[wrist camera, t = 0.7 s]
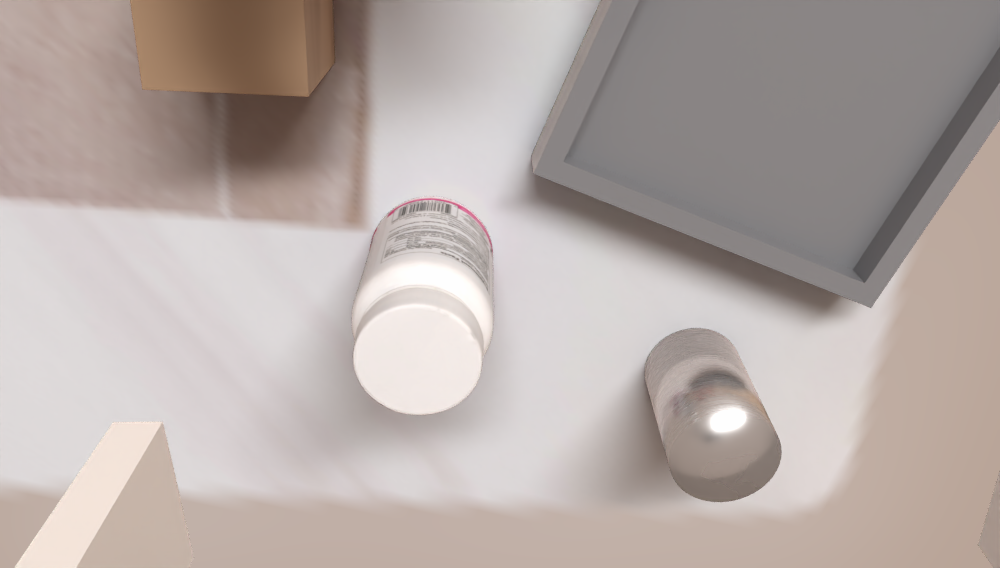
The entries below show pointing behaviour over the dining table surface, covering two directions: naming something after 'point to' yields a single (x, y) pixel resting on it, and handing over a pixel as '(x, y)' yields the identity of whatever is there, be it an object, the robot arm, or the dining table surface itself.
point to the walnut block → (234, 45)
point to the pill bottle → (424, 307)
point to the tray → (781, 124)
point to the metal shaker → (710, 417)
